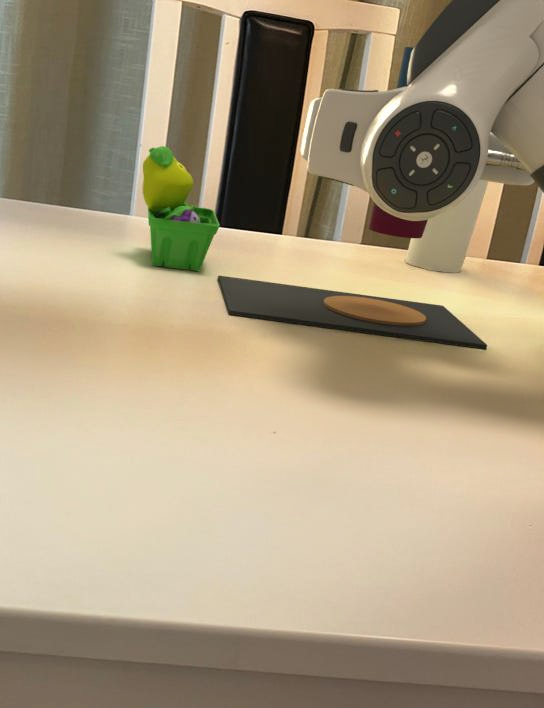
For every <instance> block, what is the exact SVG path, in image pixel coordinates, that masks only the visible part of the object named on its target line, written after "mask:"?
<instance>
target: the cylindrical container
mask: <svg viewBox="0 0 544 708" xmlns="http://www.w3.org/2000/svg"><path fill="white" fill-rule="evenodd" d="M488 184H489V181H483V180H479V181H478V182H477V184H476V186H475V187H474V188H473V190H472V191H471V192H470V193H469V195H468V196H467V197H466V198H465V199H464V200H463V201H462V202H460V203H459V204H458V205H457V206H455V207H454V208H453V209H451V210H449V211H448V212H446V213H444V214H442V215H439V216H437V217H434V218H431V219H428V221H427V224H426V227H425V230H424V233H423V236H422V238H410V242H409V244H408V248H407V252H406V256H405V259H404V262H405V263H406V264H408V265H410V266H412V267H416V268H421V269H425V270H429V271H435V272H442V273H443V272H444V273H461V271H462V269H463V265H464V262H465V259H466V256H467V252H468V249H469V247H470V243H471V239H472V236H473V234H474V231H475V227H476V223H477V220H478V217H479V214H480V211H481V207H482V204H483V201H484V197H485V194H486V191H487V188H488Z"/></svg>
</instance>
